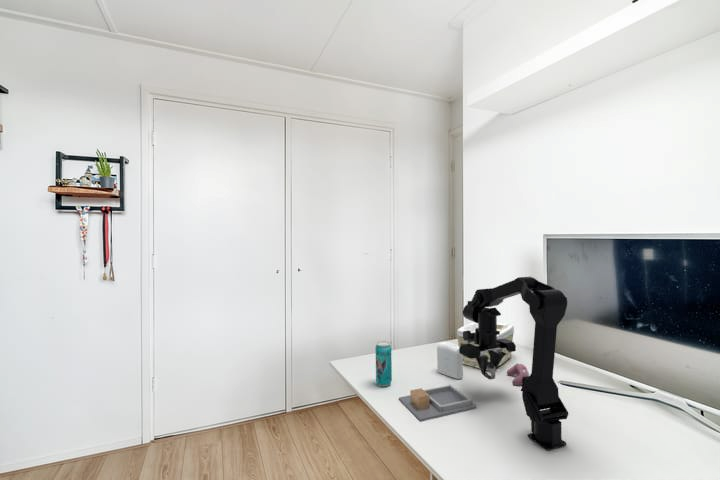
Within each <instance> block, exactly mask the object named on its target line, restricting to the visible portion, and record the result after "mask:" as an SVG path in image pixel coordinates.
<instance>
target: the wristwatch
mask: <svg viewBox="0 0 720 480" xmlns="http://www.w3.org/2000/svg"><path fill="white" fill-rule="evenodd" d="M486 369H488V370H489V371H488V370H487V371H488V372H489V373H490V374H489V373H488V372H487V371H486V373H485V375H483V377H484V378H487V379H488V380H495V379H496V370H495V365H494V364H493V363H491V362H487V368H486Z"/></svg>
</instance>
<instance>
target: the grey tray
mask: <svg viewBox="0 0 720 480" xmlns="http://www.w3.org/2000/svg"><path fill="white" fill-rule="evenodd" d="M398 401H400V402H401V403H402V404H403V405H404V407H405V408H406V409H408V410H409V412H410V413H412V415H413V416H414V417H415V418H417V420H418V421H420V422H424V421H428V420H431V419H437V418H440V417H444V416H449V415H453V414H458V413H461V412H463V413H464V412H467V411H471V410H475V409H477V405H476V404H474V403H473V399H471V398H470V397H469V396H467V395H465V394H464V393H463V392H461V391H460V390H458V389H457V388H455V387H454V386H453V385H451V384H447V385H444V386H443V385H442V386H437V387H432V388H427V389H423V388H421V387H420V388H415V389H410V395H405V396H400V397H398Z"/></svg>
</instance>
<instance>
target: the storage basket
mask: <svg viewBox="0 0 720 480" xmlns="http://www.w3.org/2000/svg"><path fill="white" fill-rule="evenodd" d="M476 328H478V323H475V322H473V321H471V323H468V324H465V325H463V326H461V327H459V328H458V329H457V332H456V335H457V338H456V339H457V344H458V345H457V346H459V347H460V346H461V345H463V344H472V345H474V346H479V345H478V344H474V342H471V343H468V340H467V341H465V340H464V339H463V331H470V332H471V333H475V329H476ZM497 330H499V331H500V334H499V335H497V339H503V338H504V339H507V340H509V341H512V342H514V339H513V338H514V335H515V325H514V324H513V323H512V324H511V323H504V322H500V321H497ZM503 352H504V353H506V355H505V356H504V357H503V358H502V360H501V361H500V363H499V365H498V367H500V366H501V365H502V364H504V363H506V362H507V361H508V360H509V359H511V357H512V352H508V351H507V350H506V348H503ZM485 356H487V357H488V362H490V355H489V352H488V351H485ZM463 365H466V366H469V367H473V368H474V367H475V368H476V369H480V367H479V365H478V362H477V360H476V358H472V359H471V358H468V357H466V356H464V355H463ZM486 371H488V372H489V370H488V369H486Z"/></svg>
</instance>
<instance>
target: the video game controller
mask: <svg viewBox="0 0 720 480" xmlns="http://www.w3.org/2000/svg"><path fill="white" fill-rule="evenodd" d="M506 375H507V376H509V377H511V376H515V377H514V378H513V380H512V383H511V384H512V385H513V386H520V385H522V378H523V377H526V376H530V373H529V371H528V368H527V367H526V366H525V365H524V364H522V363H519V362H518V363H515V364H514V365H513V366H512V367H510V368H509V369H508V370H507V371H506Z"/></svg>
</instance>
